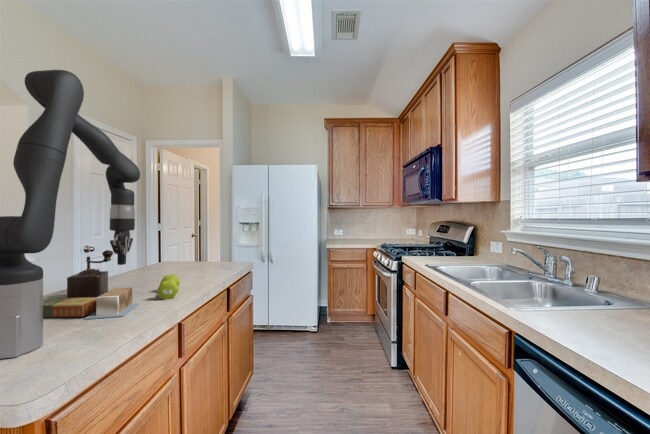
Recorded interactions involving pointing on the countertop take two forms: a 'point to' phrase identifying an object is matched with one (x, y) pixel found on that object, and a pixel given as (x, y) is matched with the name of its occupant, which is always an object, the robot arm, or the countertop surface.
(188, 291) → the countertop surface
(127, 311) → the mat
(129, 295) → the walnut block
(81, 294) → the manual coffee grinder
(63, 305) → the carton
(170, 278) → the dumbbell
